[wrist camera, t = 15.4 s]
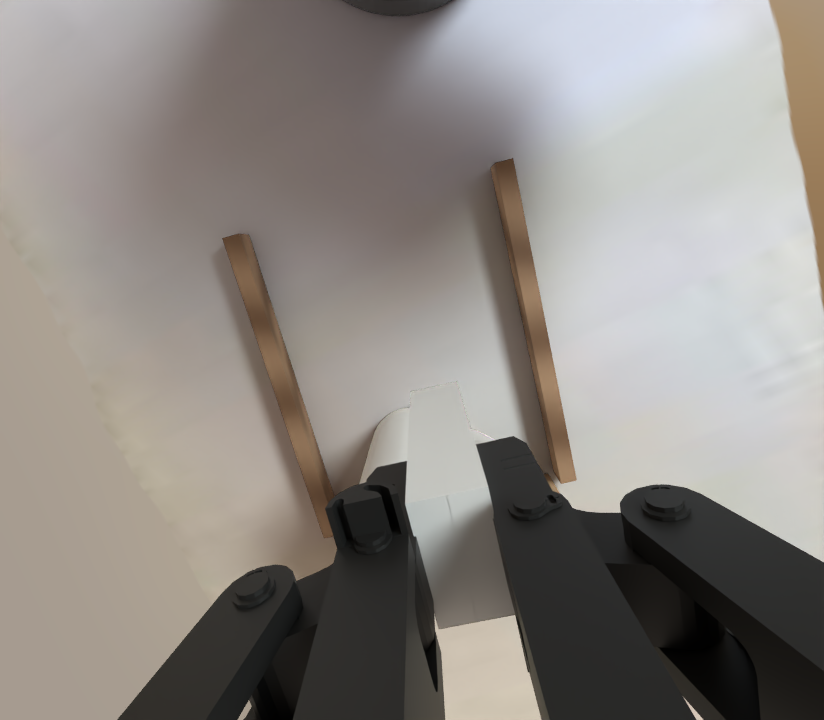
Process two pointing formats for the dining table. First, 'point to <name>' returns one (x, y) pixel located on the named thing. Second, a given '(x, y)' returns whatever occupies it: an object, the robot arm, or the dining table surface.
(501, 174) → the guide lane
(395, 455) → the mug
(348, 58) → the dining table surface
